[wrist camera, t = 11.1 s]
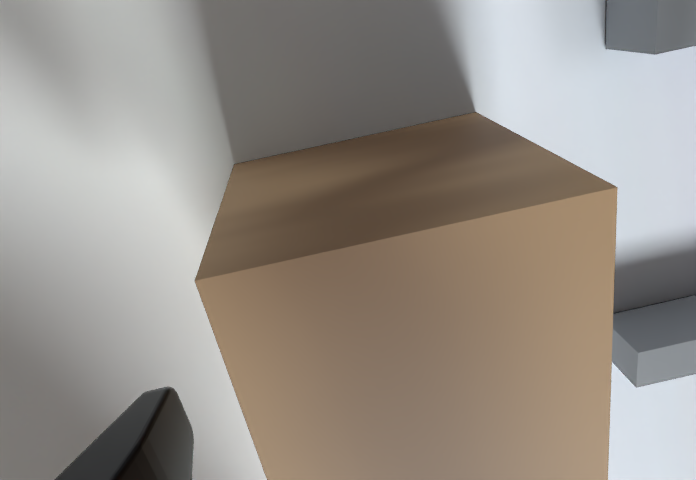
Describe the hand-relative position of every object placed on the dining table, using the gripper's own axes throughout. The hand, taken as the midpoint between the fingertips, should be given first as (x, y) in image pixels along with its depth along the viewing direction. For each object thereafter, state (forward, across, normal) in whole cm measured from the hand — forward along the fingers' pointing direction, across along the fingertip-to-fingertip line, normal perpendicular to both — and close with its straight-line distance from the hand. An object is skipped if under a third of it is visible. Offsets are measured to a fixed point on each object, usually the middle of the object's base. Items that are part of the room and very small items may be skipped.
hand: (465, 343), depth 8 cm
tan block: (+4, +1, 0) cm, 4 cm away
